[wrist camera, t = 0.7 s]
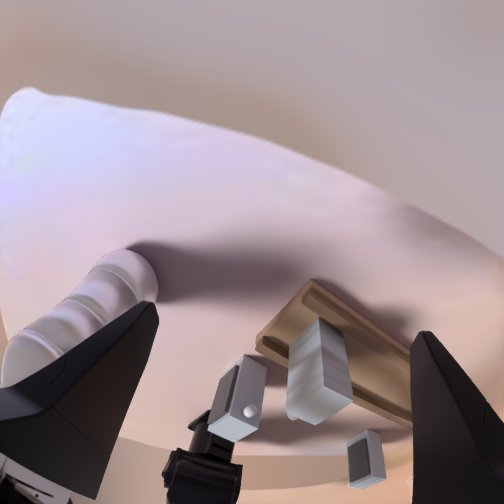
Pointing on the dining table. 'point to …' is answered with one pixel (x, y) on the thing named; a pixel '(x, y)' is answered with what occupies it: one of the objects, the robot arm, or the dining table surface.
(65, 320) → the plastic bottle
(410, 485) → the beer glass
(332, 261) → the dining table surface
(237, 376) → the box with small knob
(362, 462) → the grey boxy piece
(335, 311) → the rail
